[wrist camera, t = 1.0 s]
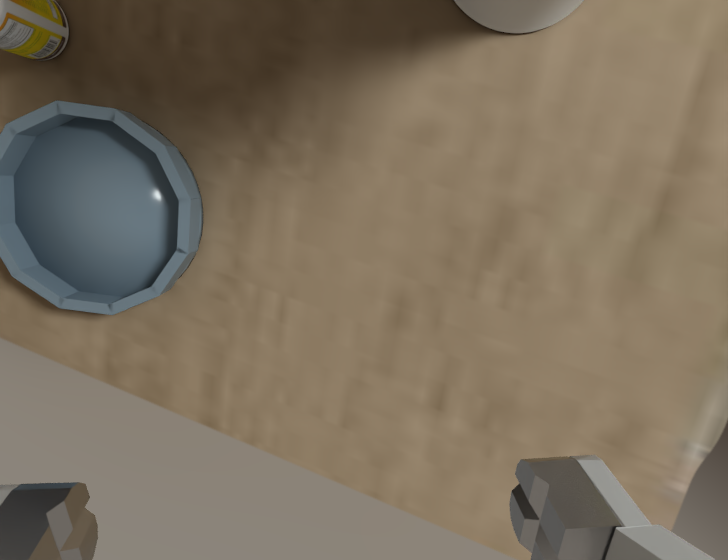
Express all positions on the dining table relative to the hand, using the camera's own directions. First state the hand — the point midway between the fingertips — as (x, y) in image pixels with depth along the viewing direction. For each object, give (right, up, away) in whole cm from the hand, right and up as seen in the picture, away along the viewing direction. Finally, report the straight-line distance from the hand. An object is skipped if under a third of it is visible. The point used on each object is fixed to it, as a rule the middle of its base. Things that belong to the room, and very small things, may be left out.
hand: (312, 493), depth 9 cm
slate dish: (-23, +11, +35) cm, 43 cm away
